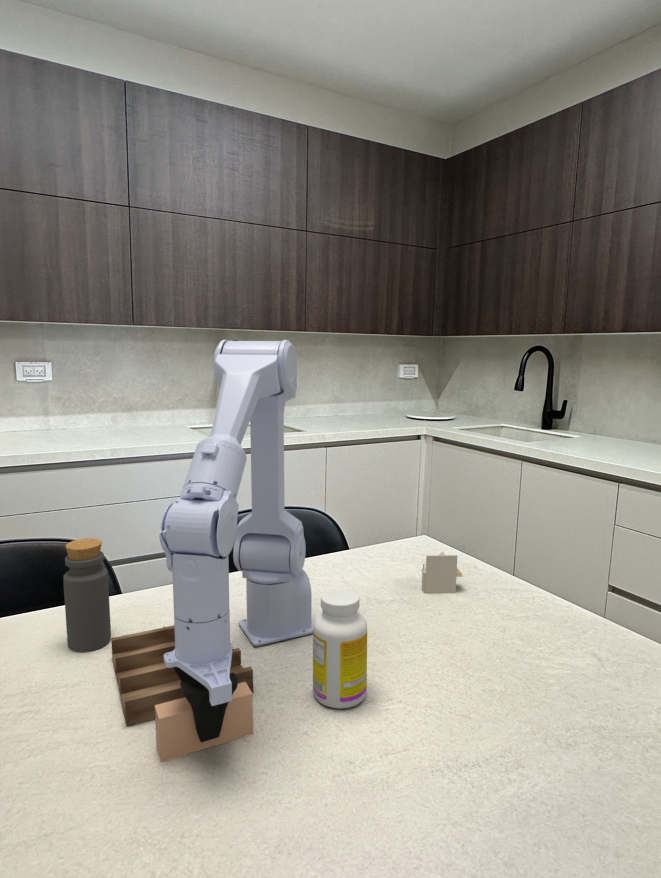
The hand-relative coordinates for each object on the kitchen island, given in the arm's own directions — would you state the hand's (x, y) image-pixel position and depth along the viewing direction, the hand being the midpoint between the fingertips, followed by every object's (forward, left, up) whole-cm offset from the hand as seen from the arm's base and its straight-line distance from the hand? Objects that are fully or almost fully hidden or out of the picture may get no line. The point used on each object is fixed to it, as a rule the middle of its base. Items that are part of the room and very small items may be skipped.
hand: (205, 728), depth 61 cm
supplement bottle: (-17, -1, -2) cm, 17 cm away
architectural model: (-47, -21, -2) cm, 51 cm away
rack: (0, -14, -1) cm, 14 cm away
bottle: (+10, -28, -2) cm, 30 cm away
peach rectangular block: (0, 0, -2) cm, 2 cm away
